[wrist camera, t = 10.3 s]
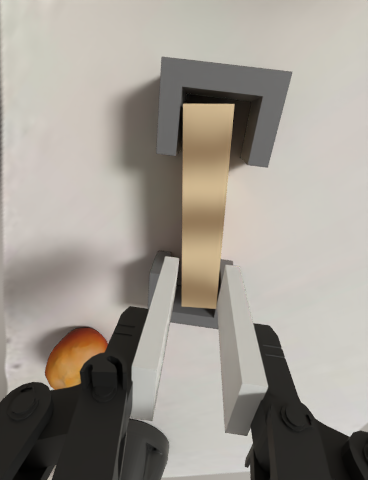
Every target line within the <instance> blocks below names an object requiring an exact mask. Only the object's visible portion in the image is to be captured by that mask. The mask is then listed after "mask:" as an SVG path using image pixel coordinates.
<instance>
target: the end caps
mask: <svg viewBox="0 0 368 480" xmlns="http://www.w3.org/2000/svg"><path fill="white" fill-rule="evenodd" d="M291 76H292V72H289V71H281V70H272V69H264V68H255V67H246V66H238V65H229V64H221V63H212V62H203V61H195V60H186V59H178V58H169V57H162V59H161V77H160V95H159V113H158V131H157V150H156V153H157V154H164V155H172V156H176V155H177V154H178V153H179V152H180V151H181V147H182V137H183V104H186V97H187V94H191V95H200V96H208V97H216V98H225V99H233V100H241V101H250V102H251V107H250V112H249V117H248V122H247V127H246V131H245V136H244V141H243V146H242V151H241V156H240V158H241V159H242V160H243V161H244V162H245V163H246V164H247V165H251V166H259V167H267V168H268V164H269V161H270V157H271V153H272V149H273V145H274V141H275V137H276V134H277V130H278V126H279V122H280V118H281V114H282V110H283V106H284V103H285V99H286V95H287V91H288V87H289V83H290V79H291ZM165 256H167V257H171V252H164V251H158V252H157V255H156V258H155V260H154V263H153V265H152V268H151V271H150V277H149V295H148V309H150V305H151V302H152V299H153V295H154V292H155V289H156V286H157V282H158V279H159V276H160V272H161V269H162V266H163V263H164V259H165ZM225 265H233V261H229V260H222V259H221V260H220V271H219V282H218V293H217V301H218V297H219V292H220V288H221V283H222V279H223V274H224V270H225ZM170 322H172V323H179V324H186V325H193V326H199V327H206V328H213V329H219V327H218V311H217V304H216V309H211V308H196V307H182V286H176V290H175V298H174V304H173V309H172V315H171V320H170Z"/></svg>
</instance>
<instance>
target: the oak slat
mask: <svg viewBox="0 0 368 480" xmlns="http://www.w3.org/2000/svg"><path fill="white" fill-rule="evenodd" d="M233 116H234V104H183V181H182V307H196V308H211V309H216V304H217V293H218V282H219V271H220V260H221V248H222V237H223V226H224V215H225V204H226V193H227V182H228V171H229V160H230V149H231V138H232V127H233Z"/></svg>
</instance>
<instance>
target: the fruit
mask: <svg viewBox="0 0 368 480" xmlns="http://www.w3.org/2000/svg"><path fill="white" fill-rule="evenodd" d="M107 346H108V343H107V341H106V339H105V338H104V337H103V336H102V335H101V334H100V333H99V332H98V331H97V330H94V329H92V328H77V329H75V330H73V331H71V332H70V333H68V334H67V335H66V336H65V337H64V338H63V339H62V340H61V341H60V342H59V343H58V344H57V345H56V346H55V347H54V349H53V351H52V352H51V354H50V356H49V358H48V362H47V365H46V369H45V376H46V378H47V380H48V382H49V384H50V386H51V387H52V388H54V389H55V390H56V389H62V388H67V387H72V386H75V385H78V384H80V383H81V379H80V372H79V371H80V370H81V368H82V366H83V365H84V363H85V362H86V361H87V360H89V359H90V358H91V357H92V356H95V355H97V354H99V353H104V352H105V350H106V348H107Z"/></svg>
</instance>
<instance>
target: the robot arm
mask: <svg viewBox="0 0 368 480" xmlns="http://www.w3.org/2000/svg"><path fill="white" fill-rule="evenodd" d="M178 265H179V258H175V257H167V256H165V259H164V263H163V266H162V269H161V272H160V276H159V279H158V282H157V286H156V289H155V292H154V295H153V299H152V302H151V305H150V309H145V308H138V307H131V306H130V307H129V308H128V309H126V310H125V311H124V312H123V313H122V314H121V316H120V319H119V321H118V323H117V326H116V328H115V330H114V332H113V334H112V337H111V339H110V341H109V343H108V346H107V348H106V350H105V352H104V353H99V354H97V355H95V356H92V357H91V358H90V359H89V360H87V361H86V362H85V363H84V365H83V366H82V368H81V370H80V371H79V372H80V379H81V383H80V384H78V385H75V386H72V387H67V388H62V389H56V390H51V391H50V390H49V387H48V386H46V385H45V384H43V383H39V382H31V383H28V384H24V385H21V386H20V387H18V388H16V389H14V390H13V391H11V392H10V393H9V394H8V395H7V396H6V397H5V398H4V399H3V400H2V401H1V402H0V480H47V479H48V477H49V475H50V473H51V471H52V470H53V468H54V466H55V465H57V466H56V469H55V472H54V475H53V478H52V480H161V477H162V474H163V472H164V469H165V467H166V464H167V460H168V452H169V442H168V440H167V438H166V437H165V435H164V434H163V433H162V432H160V431H159V430H158V429H156V428H154V427H152V426H150V425H148V424H146V423H143V422H140V421H136V420H130V419H129V418H130V415H131V418H135V419H141V420H148V421H153V415H154V409H155V404H156V398H157V393H158V387H159V382H160V376H161V371H162V365H163V359H164V354H165V348H166V343H167V337H168V332H169V326H170V320H171V315H172V309H173V304H174V298H175V290H176V282H177V273H178ZM217 311H218V327H219V343H220V359H221V375H222V391H223V407H224V423H225V433H231V434H238V435H244V436H247V435H248V433H249V430H250V428H251V432H252V439H253V444H252V446H251V449H250V451H249V453H248V455H247V457H246V461H245V467H247V468H248V467H249V465H250V473H251V480H368V432H364V431H357V432H354V433H353V434H352V435H351V436H350V437H349V436H347V435H345V434H343V433H341V432H338V431H336V430H334V429H332V428H330V427H328V426H326V425H324V424H323V423H321V422H319V421H318V420H316V419H315V418H314V416H313V415H312V413H311V412H310V411H309V409H308V408H307V407H306V406H305V405H304V404H303V403H301V401H300V399H299V397H298V395H297V392H296V389H295V386H294V383H293V380H292V377H291V374H290V371H289V368H288V365H287V362H286V359H285V358H284V357H285V356H284V353H283V350H282V349H281V344H280V341H279V338H278V336H277V334H276V333H275V332H274V331H273V329H272V328H271V327H270V326H269V325H262V324H255V323H253V320H252V316H251V312H250V308H249V304H248V299H247V295H246V291H245V287H244V283H243V278H242V274H241V270H240V266H233V265H225V270H224V274H223V279H222V283H221V288H220V292H219V297H218V301H217Z"/></svg>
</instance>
